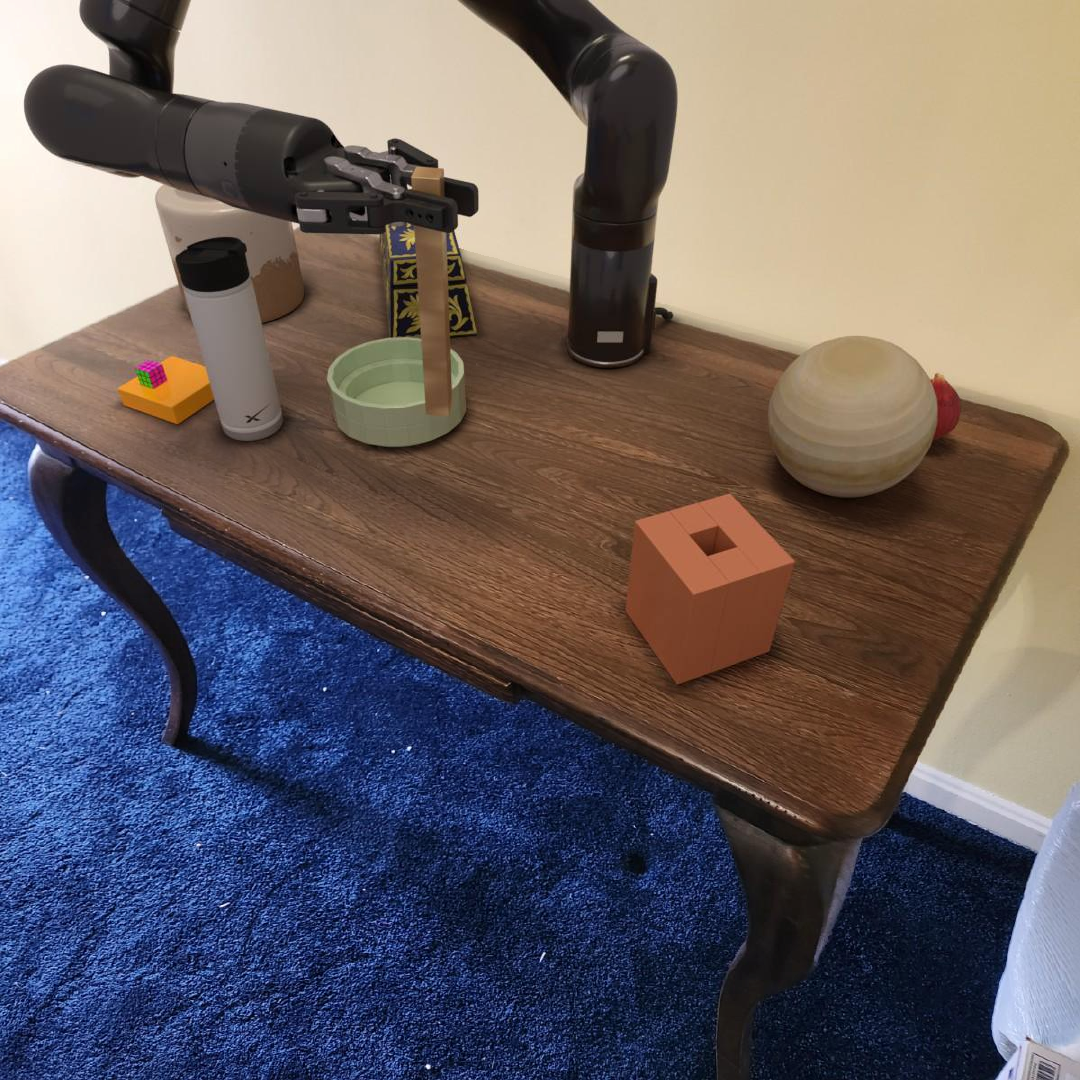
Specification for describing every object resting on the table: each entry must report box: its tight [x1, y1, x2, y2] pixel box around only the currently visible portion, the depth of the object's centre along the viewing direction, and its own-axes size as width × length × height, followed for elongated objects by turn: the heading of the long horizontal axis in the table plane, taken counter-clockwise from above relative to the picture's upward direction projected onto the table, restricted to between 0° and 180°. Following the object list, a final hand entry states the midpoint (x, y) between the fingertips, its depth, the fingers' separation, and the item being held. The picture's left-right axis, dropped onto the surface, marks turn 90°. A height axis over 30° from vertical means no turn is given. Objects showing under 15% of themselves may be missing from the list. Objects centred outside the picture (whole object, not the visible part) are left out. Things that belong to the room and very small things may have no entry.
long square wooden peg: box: [411, 167, 452, 416], centre depth 67 cm, size 2×2×20 cm
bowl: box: [326, 337, 467, 448], centre depth 92 cm, size 14×14×6 cm
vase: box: [154, 184, 305, 324], centre depth 108 cm, size 15×15×17 cm
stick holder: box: [624, 493, 796, 686], centre depth 67 cm, size 9×9×10 cm
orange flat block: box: [117, 355, 215, 425], centre depth 94 cm, size 8×8×4 cm
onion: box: [930, 372, 962, 441], centre depth 88 cm, size 6×6×8 cm
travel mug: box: [175, 237, 284, 442], centre depth 85 cm, size 6×7×20 cm
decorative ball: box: [766, 335, 937, 499], centre depth 81 cm, size 15×15×15 cm
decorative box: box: [379, 188, 478, 339], centre depth 114 cm, size 11×30×9 cm, turn 10°
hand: (465, 208), depth 61 cm, fingers closed on long square wooden peg, 2 cm apart
